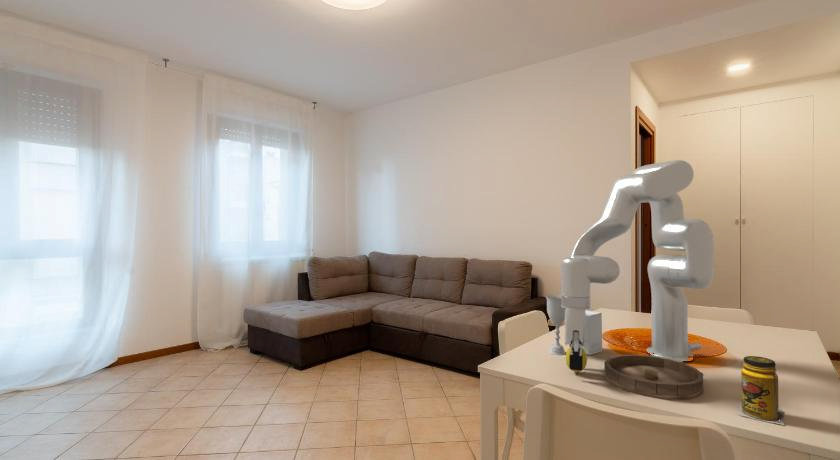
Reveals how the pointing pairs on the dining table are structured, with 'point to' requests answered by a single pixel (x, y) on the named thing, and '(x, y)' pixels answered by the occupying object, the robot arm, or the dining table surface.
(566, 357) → the lemon
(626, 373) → the groove tray
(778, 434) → the dining table surface
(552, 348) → the chalice
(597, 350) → the supplement box
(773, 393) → the condiment
